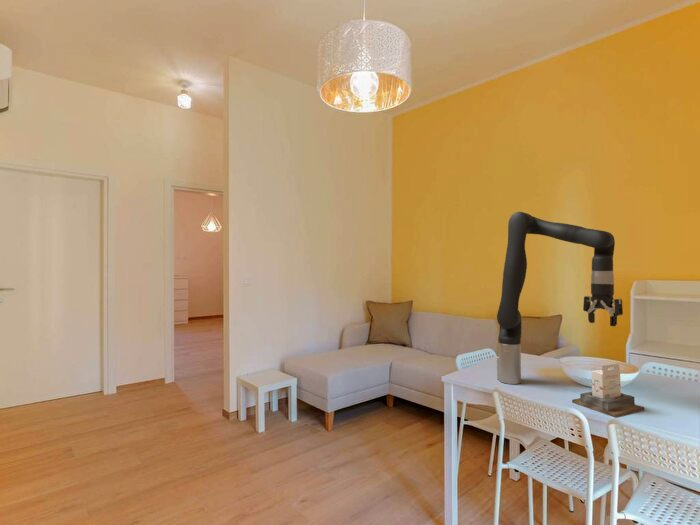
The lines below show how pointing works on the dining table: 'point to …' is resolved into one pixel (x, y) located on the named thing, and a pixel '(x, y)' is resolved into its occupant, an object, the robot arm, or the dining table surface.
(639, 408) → the socket plate
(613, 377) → the ink cartridge box
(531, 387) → the dining table surface
